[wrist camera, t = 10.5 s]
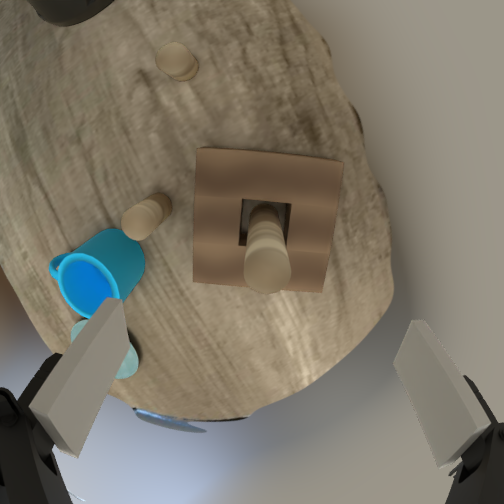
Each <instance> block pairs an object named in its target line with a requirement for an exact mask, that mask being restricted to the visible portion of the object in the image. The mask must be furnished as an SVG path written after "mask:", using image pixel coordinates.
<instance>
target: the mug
mask: <svg viewBox="0 0 504 504" xmlns="http://www.w3.org/2000/svg"><path fill="white" fill-rule="evenodd" d="M59 265H60V266H59ZM57 266H59V269H58V270H56V268H57ZM144 269H145V259H144V253H143V251H142V249H141V247H140V245H139V244H138V242H137V241H136V240H133V239H131V238H129V237H128V236H127V235H126V234H125V233H124V231H122V230H119V229H106V230H104V231H101V232H99V233H98V234H97V235H95V236H94V237H92V238H91V239H89V240H88V241H87V242H85V243H84V244H83V245H81V246H80V247H78V248H77V249H76V250H74V251H73V252H71V253H65V254H62V255H59V256H57V257H55V258H54V259H53V260H52V261H51V262H50V264H49V272H50V273H51V275H52V277H53V278H55V279H56V280H57V281H58V284H59V287H60V291H61V293H62V295H63V297H64V298H65V300H66V302H67V303H68V304H69V305H70V306H71V307H72V309H73V310H75V311H76V312H77V313H79V314H80V315H81V316H83V317H86V318H88V319H90V318H91V317H92V315H93V314H94V313H95V312H96V310H97V309H98V308H99V307H100V305H101V304H102V303H103V301H104V300H105V299H106V298H107V297H110V298H117V299H122V303H123V302H124V301H125V299H126V298H127V296H128V295H129V294H130V292H131V291H132V290H133V288H134V287H135V286H136V284H137V283H138V282H139V280H140V279H141V277H142V275H143V273H144Z"/></svg>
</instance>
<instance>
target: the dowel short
mask: <svg viewBox="0 0 504 504" xmlns="http://www.w3.org/2000/svg"><path fill="white" fill-rule="evenodd" d="M155 62H156V65H157V67H158V68H159V69H160V70H162V71H163V72H165V73H166V74H168V75H169V76H171V77H173V78H174V79H176V80H178V81H187V80H190V79H191V78H193V77H194V76H195V75H196V73H197V71H198V68H199V65H198V62H197V60H196V59H195V57H194V56H193V55H192V54H191V53H190V52H189V50H188V49H187V48H186V47H185V46H184V45H183V44H181V43H178V42H171V43H168V44H166V45H164V46H163V47H161V48H160V49H159V51H158V52H157V54H156V58H155Z"/></svg>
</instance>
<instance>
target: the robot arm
mask: <svg viewBox="0 0 504 504" xmlns="http://www.w3.org/2000/svg"><path fill="white" fill-rule="evenodd" d="M27 1H28V2H29V3H30V4H31V5H32V6H33V7H34V9H35V10H36V12H37V14H38V15H39V17H40V18H41V19H43V20H44V21H46V22H49V23H51V24H54V25H57V26H70V25H74V24H77V23H80V22H82V21H84V20H86V19H88V18H90V17H92V16H94V15H95V14H97V13H98V12H100V11H101V10H102V9H104V8H105V7H106V6H108V5H109V4H110V3H111V2H112V1H113V0H27ZM129 349H130V343H129V337H128V332H127V327H126V321H125V315H124V309H123V303H122V299H117V298H110V297H107V298H106V299H105V300H104V301H103V303H102V304H101V305H100V307H99V308H98V309H97V310H96V312H95V313H94V314H93V315H92V317H91V318H90V319H89V321H88V322H87V323H86V325H85V326H84V327H83V329H82V330H81V331H80V333H79V334H78V335H77V337H76V338H75V339H74V341H73V342H72V343H71V345H70V346H69V348H68V349H67V350H66V352H65V353H64V355H62V354H59V353H55V354H53V355H52V356H50V357H49V358H47V359H46V360H45V362H44V363H43V364H42V366H41V367H40V370H38V371H37V373H36V374H35V375H34V376H35V377H33V378H32V380H31V381H30V383H29V384H28V386H27V387H26V388H25V390H24V391H23V393H22V394H21V396H20V397H19V399H18V400H16V399H15V397H14V395H13V394H12V393H11V392H10V391H9V390H8V389H6V388H2V387H1V388H0V504H73V503H72V501H71V498H70V496H69V494H68V491H67V489H66V486H65V484H64V481H63V479H62V476H61V473H60V471H59V468H58V465H57V462H56V459H55V456H54V454H53V452H52V448H53V446H54V444H55V445H56V446H57V448H58V449H59V450H60V452H63V453H65V454H68V455H70V456H72V457H75V458H78V457H79V454H80V452H81V450H82V448H83V445H84V443H85V441H86V438H87V436H88V434H89V431H90V429H91V427H92V425H93V423H94V421H95V418H96V416H97V414H98V412H99V410H100V408H101V405H102V403H103V401H104V399H105V397H106V395H107V393H108V391H109V389H110V387H111V385H112V382H113V380H114V378H115V376H116V374H117V372H118V370H119V368H120V366H121V364H122V362H123V360H124V358H125V357H126V355H127V353H128V351H129ZM393 365H394V367H395V369H396V372H397V374H398V376H399V378H400V380H401V382H402V384H403V386H404V388H405V391H406V393H407V395H408V397H409V399H410V402H411V404H412V406H413V408H414V411H415V413H416V415H417V418H418V420H419V422H420V424H421V427H422V429H423V432H424V434H425V436H426V439H427V441H428V444H429V446H430V449H431V451H432V454H433V456H434V459H435V461H436V464H437V467H438V469H439V468H442V467H445V466H448V465H451V464H453V463H454V462H455V461H456V460H457V459H458V458H459V457H460V456H461V458H462V460H463V461H462V462H461V463H460V464H459V465H457V467H455V468H454V469H453V470H452V471H451V472H450V474H449V476H451V475H452V474H453V473H455V472H456V471H457V472H456V475H455V476H454V481H453V484H452V487H451V490H450V492H449V495H448V498H447V500H446V503H445V504H504V423H498V422H497V420H496V418H495V417H494V415H493V413H492V411H491V410H490V408H489V406H488V405H487V403H486V401H485V400H484V399H483V397H482V395H481V394H480V392H479V390H478V389H477V387H476V386H475V384H474V382H473V381H471V380H470V379H469V378H468V377H467V376H466V375H464V376H463V375H462V374H461V372H460V371H459V369H458V368H457V366H456V365H455V363H454V362H453V360H452V359H451V357H450V356H449V354H448V353H447V351H446V350H445V349H444V347H443V346H442V344H441V343H440V342H439V340H438V339H437V337H436V336H435V334H434V333H433V332H432V330H431V329H430V327H429V326H428V325H427V324H426V322H425V321H424V320H412V321H411V323H410V325H409V328H408V330H407V332H406V335H405V337H404V340H403V342H402V344H401V346H400V349H399V351H398V353H397V355H396V358H395V360H394V362H393Z"/></svg>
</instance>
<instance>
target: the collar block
mask: <svg viewBox="0 0 504 504" xmlns="http://www.w3.org/2000/svg"><path fill="white" fill-rule="evenodd" d="M343 168H344V163H343V162H340V161H337V160H333V159H327V158H320V157H313V156H305V155H297V154H288V153H279V152H269V151H259V150H247V149H233V148H216V147H201V148H197V155H196V173H195V196H194V229H193V282H197V283H207V284H218V285H228V286H239V287H249V286H248V285H247V283H246V281H245V279H244V263H245V254H246V245H247V236H248V234H243V233H241V222H242V209H243V199H250V200H261V201H272V202H282V203H287V208H286V216H285V225H284V233H283V237H284V241H285V245H286V249H287V254H288V258H289V262H290V267H291V278H290V280H289V282H288V284H287V285H286V286H285V287H284V288H283V289H282V290H289V291H303V292H318V293H322V289H323V285H324V280H325V275H326V270H327V265H328V260H329V255H330V249H331V244H332V239H333V233H334V227H335V221H336V215H337V209H338V203H339V196H340V190H341V183H342V175H343Z"/></svg>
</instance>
